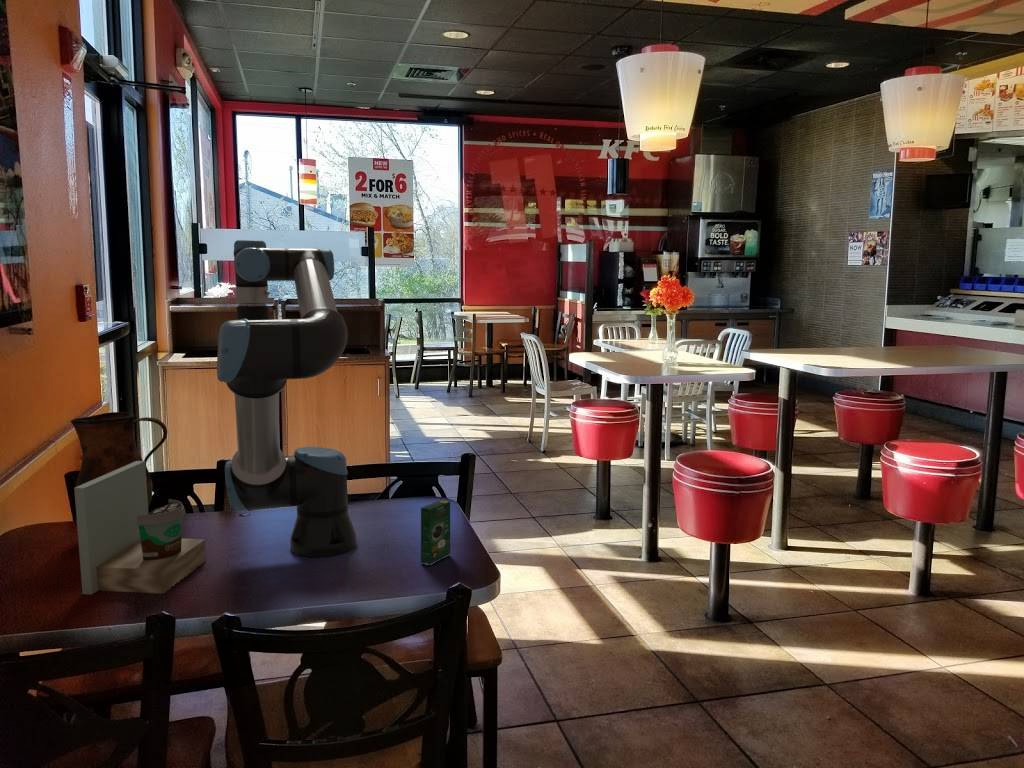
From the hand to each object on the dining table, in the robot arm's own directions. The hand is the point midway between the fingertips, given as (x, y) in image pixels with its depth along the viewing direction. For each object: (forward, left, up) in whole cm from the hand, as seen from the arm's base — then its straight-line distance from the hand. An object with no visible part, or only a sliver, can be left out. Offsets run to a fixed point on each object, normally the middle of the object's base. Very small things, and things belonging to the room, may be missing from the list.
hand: (256, 391), depth 197 cm
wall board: (+18, +33, -35) cm, 51 cm away
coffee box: (-48, +18, -35) cm, 62 cm away
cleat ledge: (+10, +33, -35) cm, 49 cm away
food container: (+6, +33, -30) cm, 45 cm away
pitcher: (+30, +10, -35) cm, 47 cm away
